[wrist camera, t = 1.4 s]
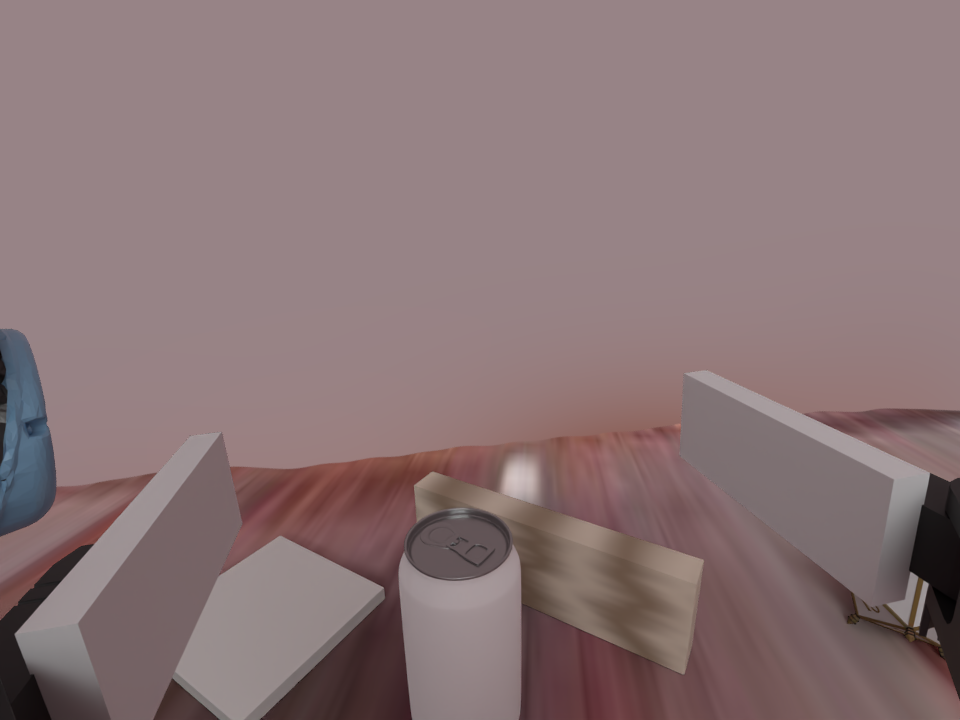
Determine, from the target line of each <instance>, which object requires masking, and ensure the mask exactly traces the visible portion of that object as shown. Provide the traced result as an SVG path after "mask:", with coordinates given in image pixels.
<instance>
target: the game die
mask: <svg viewBox="0 0 960 720" xmlns="http://www.w3.org/2000/svg"><path fill="white" fill-rule="evenodd" d="M927 589H928V583H927V582H925V581H924V580H922V579H921V578H919V577H918V576H916V575H915V574H913V573H912V572H910V576H909V581H908V586H907V591H906V596H905V600H901V601H897V602H892V603H888V604H883V605H879V606H874V607H870V606H869V605H868V604H867V603H865V602H864V601H863V600H862V599H860V598H859V597H858V596H856V595H855V594H854V593H853V592H851V595H852V599H853V603H854V607H855V612H856V614H854V615H852V614H851V616H850V617H849V616H848V617H849V618H848V623H847V624H856V622H859V621H858V620H859V619H860V618H861V619H864V620H867V621H870V622H872V623H875V624H878V625H880V626H883V627H886V628H889V629H891V630H894V631H897V632H899V633H902V634H905V635H904V636H905V637H906V638H907V639H908V640H909V641H910V642H912V641H914V640H916V639H918V640H921V641H924V642H926V643H929V644H932V645H935V646H937V647H939V650H938V651H939V653H940V655H941V657H943V658H944V659H945V656H944V653H943V651H942V648H941V645H940V642H939V641H938V640H937V637H938V636H937V633H936V631H935V628H934V627H932V628H930V629H928V632H927V636H926V637H923V636H919V626H920V621H921V617H922V612H923V607H924V603H925V598H926V593H927Z"/></svg>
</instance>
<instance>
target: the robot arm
mask: <svg viewBox="0 0 960 720" xmlns="http://www.w3.org/2000/svg"><path fill="white" fill-rule="evenodd" d="M683 378H684V379H683V398H682V418H681V419H682V420H681V438H680V457H682V458H683V459H684V460H685V461H687V462H688V463H689V464H690V465H692V466H693V467H694V468H696V469H697V470H698V471H699V472H701V473H702V474H703V475H704V476H706V477H707V478H708V479H709V480H711V481H712V482H713V483H715V484H716V485H717V486H718V487H720V488H721V489H722V490H723V491H725V492H726V493H727V494H728V495H730V496H731V497H732V498H734V499H735V500H736V501H737V502H739V503H740V504H741V505H742V506H744V507H745V508H746V509H747V510H749V511H750V512H751V513H753V514H754V515H755V516H756V517H758V518H759V519H760V520H761V521H763V522H764V523H765V524H766V525H768V526H769V527H770V528H772V529H773V530H774V531H775V532H777V533H778V534H779V535H780V536H782V537H783V538H784V539H785V540H787V541H788V542H789V543H791V544H792V545H793V546H794V547H796V548H797V549H798V550H799V551H801V552H802V553H803V554H805V555H806V556H807V557H808V558H810V559H811V560H812V561H813V562H815V563H816V564H817V565H818V566H820V567H821V568H822V569H824V570H825V571H826V572H827V573H829V574H830V575H831V576H832V577H834V578H835V579H836V580H837V581H839V582H840V583H841V584H843V585H844V586H845V587H846V588H848V589H849V590H850V591H851V592H853V593H854V594H855V595H856V596H858V597H859V598H860V599H862V600H863V601H864V602H865V603H867V604H868V605H869V606H870V607H874V606H879V605H883V604H888V603H892V602H897V601H901V600H905V596H906V591H907V586H908V581H909V576H910V572H912V573H913V574H915V575H916V576H918V577H919V578H921V579H922V580H924V581H925V582H927V583H928V589H927V593H926V598H925V603H924V607H923V612H922V617H921V621H920V626H919V636H923V637H926V636H927V632H928V629H930V628H932V627H934V628H935V631H936V633H937V636H938V637H937V640H938V641H939V642H940V645H941V648H942V651H943V653H944V656H945V659H946V662H947V665H948V668H949V671H950V674H951V676H952V679H953V682H954V685H955V688H956V691H957V694H958V696H959V699H960V478H957V479H955V480H953V481H951V482H948V481H946V480H944V479H942V478H940V477H938V476H935V475H933V474H931V473H929V472H927V471H925V470H922V469H920V468H918V467H916V466H914V465H912V464H909V463H907V462H905V461H903V460H901V459H899V458H896V457H894V456H892V455H890V454H888V453H885V452H883V451H881V450H879V449H877V448H875V447H872V446H870V445H868V444H866V443H864V442H862V441H859V440H857V439H855V438H853V437H851V436H849V435H846V434H844V433H842V432H840V431H838V430H836V429H833V428H831V427H829V426H827V425H825V424H822V423H820V422H818V421H816V420H814V419H812V418H809V417H807V416H805V415H803V414H801V413H798V412H796V411H794V410H792V409H790V408H788V407H785V406H783V405H781V404H779V403H777V402H775V401H773V400H770V399H768V398H766V397H764V396H762V395H759V394H757V393H755V392H753V391H751V390H748V389H746V388H744V387H742V386H740V385H738V384H735V383H733V382H731V381H729V380H727V379H725V378H722V377H720V376H718V375H716V374H714V373H712V372H710V371H707V370H705V371H697V372H689V373H684V377H683ZM46 422H47V415H46V409H45V401H44V395H43V391H42V386H41V382H40V378H39V374H38V370H37V366H36V363H35V360H34V356H33V353H32V350H31V348H30V345H29V343H28V341H27V339H26V337H25V335H23V334H22V333H21V332H19V331H18V330H13V329H0V536H3V535H6V534H8V533H11V532H13V531H16V530H19V529H21V528H24V527H27V526H29V525H31V524H33V523H35V522H37V521H38V520H39V519H41V518H42V517H43V516H44V515H45V514H46V513H47V512H48V511H49V509H50V508H51V506H52V504H53V502H54V500H55V495H56V470H55V460H54V452H53V446H52V441H51V434H50V431H49V427H48V426H47V424H46ZM241 526H242V520H241V515H240V511H239V506H238V502H237V497H236V493H235V488H234V484H233V479H232V475H231V471H230V466H229V462H228V457H227V453H226V448H225V444H224V440H223V435H222V432H216V433H208V434H200V435H193V436H190V437H189V438H188V439H187V440H186V442H185V443H183V445H182V446H181V447H180V448H179V449H178V450H177V451H176V453H175V454H174V455H173V456H172V457H171V458H170V459H169V461H168V462H167V463H166V464H165V465H164V466H163V467H162V468H161V470H160V471H159V472H158V473H157V474H156V475H155V476H154V477H153V479H152V480H151V481H150V482H149V483H148V484H147V485H146V486H145V488H144V489H143V490H142V491H141V492H140V493H139V494H138V495H137V497H136V498H135V499H134V500H133V501H132V502H131V503H130V504H129V506H128V507H127V508H126V509H125V510H124V511H123V512H122V514H121V515H120V516H119V517H118V518H117V519H116V520H115V521H114V523H113V524H112V525H111V526H110V527H109V528H108V529H107V530H106V532H105V533H104V534H103V535H102V536H101V537H100V538H99V540H98V541H97V542H96V543H95V544H92V545H85V546H81V547H79V548H78V549H76V550H75V551H73V552H72V553H70V554H69V555H67V556H66V557H64V558H63V559H61V560H60V561H58V562H57V563H55V564H54V565H53V566H52V567H51V568H50V569H49V570H48V571H47V572H46V573H45V574H44V575H43V576H42V577H41V578H40V580H39V581H38V582H37V583H36V584H35V585H34V586H35V587H34V588H33V589H30V590H29V591H28V592H27V593H26V594H25V595H24V596H23V597H22V598H21V600H20V601H19V602H18V606H14V607H13V608H12V609H11V610H10V611H9V612H8V613H7V614H6V615H5V616H4V617H3V618H2V620H1V621H0V720H153V718H154V716H155V714H156V712H157V710H158V707H159V705H160V703H161V701H162V699H163V696H164V694H165V692H166V690H167V688H168V686H169V683H170V681H171V679H172V677H173V675H174V672H175V670H176V668H177V666H178V664H179V661H180V659H181V657H182V655H183V653H184V651H185V648H186V646H187V644H188V642H189V640H190V637H191V635H192V633H193V631H194V629H195V626H196V624H197V622H198V620H199V618H200V615H201V613H202V611H203V609H204V607H205V605H206V602H207V600H208V598H209V596H210V594H211V591H212V589H213V587H214V585H215V583H216V580H217V578H218V576H219V574H220V572H221V570H222V567H223V565H224V563H225V561H226V559H227V556H228V554H229V552H230V550H231V548H232V545H233V543H234V541H235V539H236V537H237V534H238V532H239V530H240V528H241Z"/></svg>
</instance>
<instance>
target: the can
mask: <svg viewBox="0 0 960 720" xmlns="http://www.w3.org/2000/svg"><path fill="white" fill-rule="evenodd" d="M399 591H400V603H401V614H402V625H403V636H404V647H405V657H406V668H407V678H408V688H409V698H410V708H411V716H412V720H519V717H520V710H521V566H520V559H519V556H518V553H517V551H516V549H515V547H514V545H513V537H512V533H511V531H510V529H509V527H508V526H507V525H506V523H505V522H504V521H503V520H501V519H500V518H499V517H497V516H495V515H494V514H492V513H489V512H487V511H484V510H480V509H475V508H450V509H444V510H440V511H437V512H434V513H432V514H429V515H427V516H426V517H424V518H422V519H421V520H419V521H418V522H417V523H416V524H414V525H413V526H412V528H411V529H410V530H409V532H408V533H407V535H406V538H405V541H404V553H403V556H402V558H401V561H400V565H399Z"/></svg>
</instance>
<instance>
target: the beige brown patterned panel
mask: <svg viewBox="0 0 960 720" xmlns="http://www.w3.org/2000/svg"><path fill="white" fill-rule="evenodd" d="M414 490H415V504H416V517H417V522H418V521H419V520H421V519H422V518H424V517H426V516H427V515H429V514H432V513H434V512H437V511H440V510H444V509H450V508H475V509H480V510H484V511H487V512H489V513H492V514H494V515H495V516H497V517H499V518H500V519H501V520H503V521H504V522H505V523H506V525H507V526H508V527H509V529H510V531H511V533H512V537H513V545H514V547H515V549H516V551H517V553H518V556H519V559H520V566H521V603H522V604H524V605H527V606H529V607H531V608H533V609H536V610H538V611H540V612H542V613H545V614H547V615H549V616H551V617H554V618H556V619H558V620H560V621H563V622H565V623H567V624H570V625H572V626H574V627H576V628H579V629H581V630H583V631H585V632H588V633H590V634H592V635H594V636H597V637H599V638H601V639H603V640H606V641H608V642H610V643H613V644H615V645H617V646H619V647H622V648H624V649H626V650H628V651H631V652H633V653H635V654H637V655H640V656H642V657H644V658H646V659H649V660H651V661H653V662H656V663H658V664H660V665H662V666H665V667H667V668H669V669H671V670H674V671H676V672H678V673H680V674H683V675H684V674H685V671H686V667H687V663H688V660H689V656H690V652H691V648H692V642H693V635H694V628H695V621H696V614H697V607H698V600H699V593H700V585H701V578H702V571H703V564H704V560H702V559H699V558H696V557H693V556H690V555H687V554H684V553H681V552H678V551H675V550H672V549H669V548H665V547H662V546H659V545H656V544H653V543H650V542H647V541H644V540H641V539H638V538H635V537H632V536H629V535H626V534H623V533H619V532H616V531H613V530H610V529H607V528H604V527H601V526H598V525H595V524H592V523H589V522H586V521H583V520H580V519H577V518H573V517H570V516H567V515H564V514H561V513H558V512H555V511H552V510H549V509H546V508H543V507H540V506H537V505H534V504H531V503H527V502H524V501H521V500H518V499H515V498H512V497H509V496H506V495H503V494H500V493H497V492H494V491H491V490H488V489H485V488H481V487H478V486H475V485H472V484H469V483H466V482H463V481H460V480H457V479H454V478H451V477H448V476H445V475H442V474H438V473H435V472H431V473H430V474H429V475H427V476H426V477H425V478H423V479H422V480H421V481H419V482H418V483H417V484H415V485H414Z"/></svg>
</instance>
